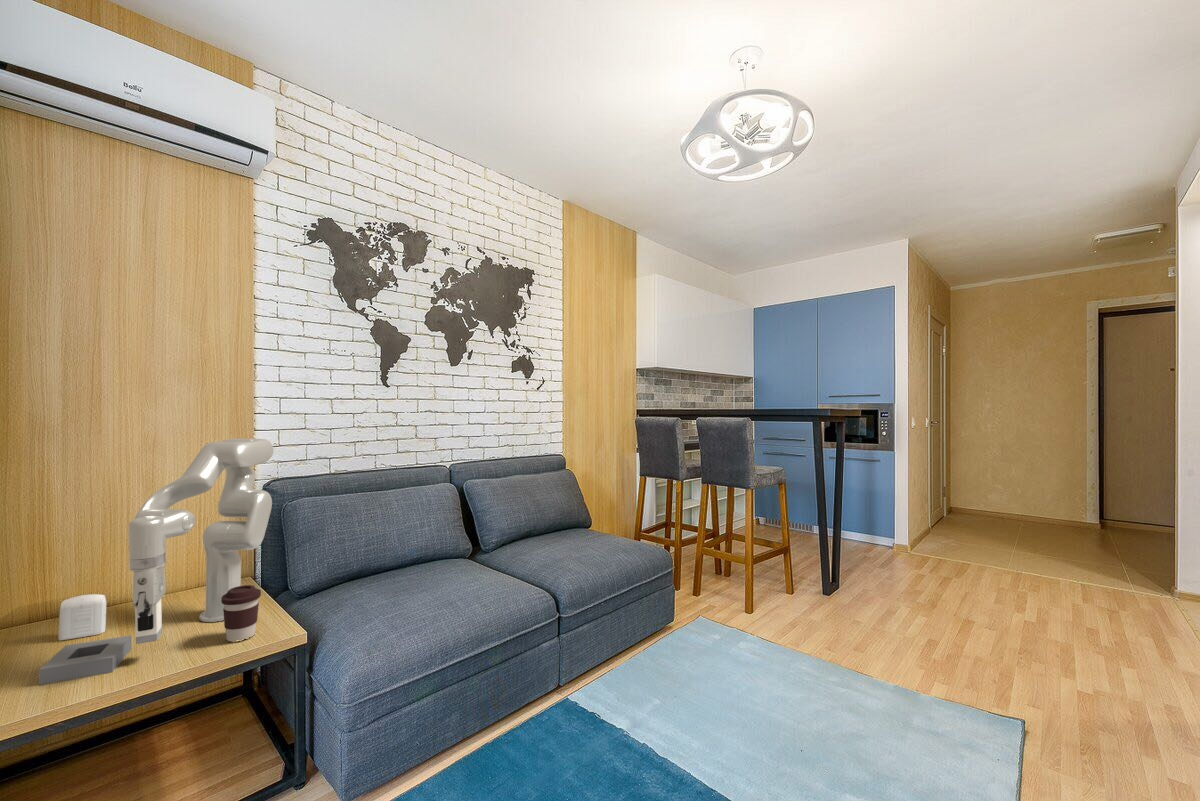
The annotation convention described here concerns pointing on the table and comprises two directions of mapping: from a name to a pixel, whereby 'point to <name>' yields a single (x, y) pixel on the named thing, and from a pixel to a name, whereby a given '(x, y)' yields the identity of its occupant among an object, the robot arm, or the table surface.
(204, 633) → the table surface
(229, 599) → the coffee cup
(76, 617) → the photo printer
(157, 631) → the plug
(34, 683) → the table surface
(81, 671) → the socket box
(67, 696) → the table surface
